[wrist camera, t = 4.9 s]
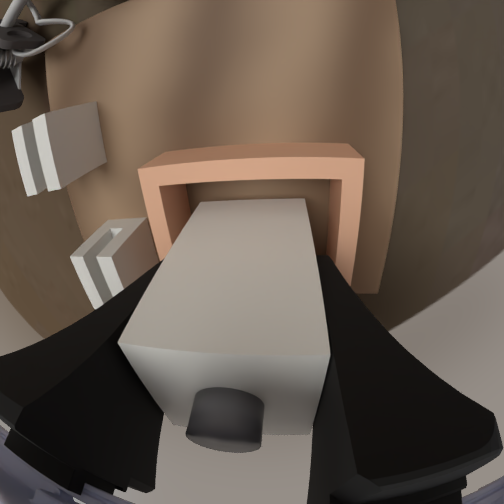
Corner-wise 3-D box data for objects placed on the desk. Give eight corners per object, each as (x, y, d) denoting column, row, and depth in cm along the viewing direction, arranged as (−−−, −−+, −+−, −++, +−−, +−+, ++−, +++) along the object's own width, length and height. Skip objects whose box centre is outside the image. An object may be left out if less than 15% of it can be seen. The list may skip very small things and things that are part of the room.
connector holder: (348, 143, 10) (364, 158, 8) (335, 292, 14) (341, 329, 12) (164, 152, 11) (137, 168, 9) (194, 290, 15) (180, 324, 13)
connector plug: (304, 198, 10) (335, 405, 4) (302, 283, 12) (309, 465, 6) (200, 201, 11) (98, 382, 4) (214, 283, 13) (166, 452, 6)
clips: (122, 92, 9) (72, 100, 7) (160, 269, 14) (134, 313, 11) (61, 114, 10) (11, 131, 7) (103, 267, 15) (73, 305, 12)
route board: (384, -12, 6) (391, -19, 6) (373, 281, 14) (377, 293, 14) (56, 43, 9) (44, 43, 8) (109, 277, 16) (102, 286, 16)
